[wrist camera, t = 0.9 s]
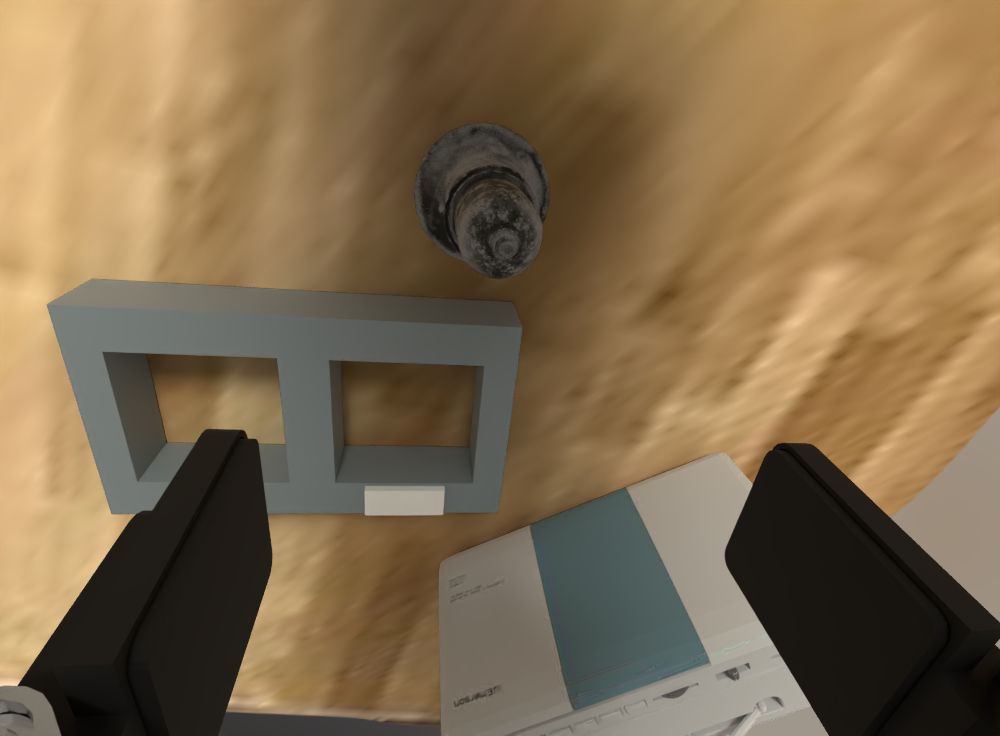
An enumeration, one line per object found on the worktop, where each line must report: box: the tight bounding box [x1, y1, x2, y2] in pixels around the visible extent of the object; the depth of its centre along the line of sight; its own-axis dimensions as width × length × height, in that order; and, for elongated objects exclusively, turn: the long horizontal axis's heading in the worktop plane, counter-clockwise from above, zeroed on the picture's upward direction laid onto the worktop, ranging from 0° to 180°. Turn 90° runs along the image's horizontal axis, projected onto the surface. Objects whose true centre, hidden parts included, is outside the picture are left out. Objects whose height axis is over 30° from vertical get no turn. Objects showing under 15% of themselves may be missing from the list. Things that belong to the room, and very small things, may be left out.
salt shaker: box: [414, 123, 549, 279], centre depth 21 cm, size 6×6×12 cm
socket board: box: [47, 279, 523, 516], centre depth 29 cm, size 12×21×4 cm, turn 84°
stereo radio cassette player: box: [439, 452, 811, 736], centre depth 29 cm, size 21×8×20 cm, turn 112°
